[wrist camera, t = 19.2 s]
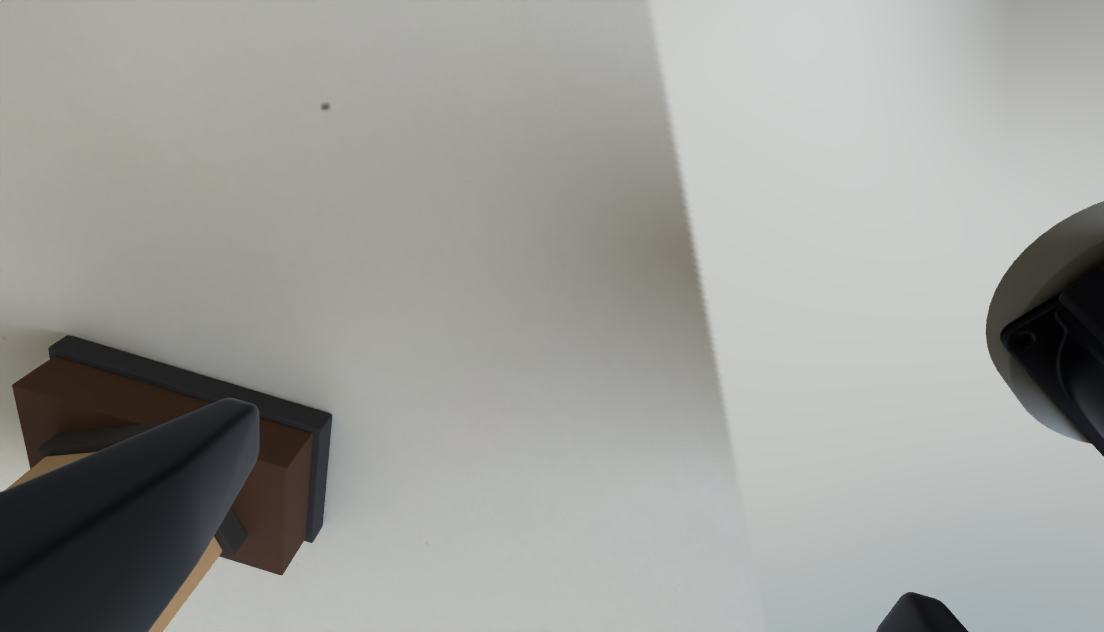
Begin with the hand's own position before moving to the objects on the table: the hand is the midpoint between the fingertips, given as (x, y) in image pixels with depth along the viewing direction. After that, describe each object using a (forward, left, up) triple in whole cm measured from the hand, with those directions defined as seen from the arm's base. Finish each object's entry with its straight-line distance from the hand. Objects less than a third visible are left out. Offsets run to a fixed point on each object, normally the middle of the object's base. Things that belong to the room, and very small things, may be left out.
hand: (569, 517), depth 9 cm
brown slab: (+5, +20, -13) cm, 24 cm away
